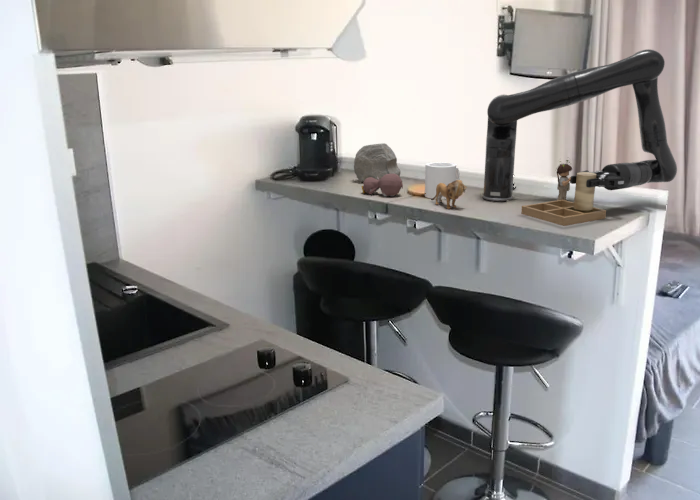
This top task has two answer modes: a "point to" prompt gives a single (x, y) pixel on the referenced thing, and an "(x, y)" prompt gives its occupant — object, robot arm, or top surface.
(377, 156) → the stone
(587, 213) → the wooden compartment tray
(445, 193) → the lion figurine
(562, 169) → the toy
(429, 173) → the mug
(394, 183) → the toy
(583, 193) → the peg
